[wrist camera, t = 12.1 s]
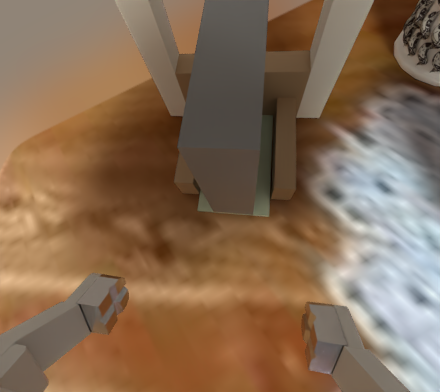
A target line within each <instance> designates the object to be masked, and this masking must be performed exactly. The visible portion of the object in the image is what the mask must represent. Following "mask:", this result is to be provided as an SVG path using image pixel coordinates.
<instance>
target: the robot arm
mask: <svg viewBox="0 0 440 392" xmlns="http://www.w3.org/2000/svg"><path fill="white" fill-rule="evenodd" d="M125 284H126V281H125V278H123V277H117V276H111V275H105V274H98V273H92V274H90V275H89V276H88V277H87V278H86V279H85V280H84V281H83V282H82V283H81V285H80V286H79V287H78V288H77V289H76V290H75V291H74V292H73V293H72V294H71V296H70V297H69V298H68V299H67V300H66V301H65V302H60V303H58V304H56V305H55V306H53V307H51V308H49V309H47V310H45V311H43V312H42V313H40V314H38V315H36V316H34V317H32V318H31V319H29V320H27V321H25V322H23V323H21V324H19V325H18V326H16V327H14V328H12V329H10V330H8V331H7V332H5V333H3V334H1V335H0V392H43V391H44V390H45V388H46V387H47V386H48V379H47V377H46V376H45V374H44V373H43V371H45V370H46V369H47V368H48V367H50V366H51V365H52V364H53V363H55V362H56V361H57V360H58V359H60V358H61V357H62V356H63V355H65V354H66V353H67V352H68V351H69V350H71V349H72V348H73V347H74V346H76V345H77V344H78V343H79V342H81V341H82V340H83V339H84V338H86V337H87V336H88V335H89V334H90V332H92V333H99V334H107V335H109V333H110V332H111V330H112V329H113V327H114V325H115V324H116V322H117V315H118V314H120V313H121V312H123V310H124V309H125V307H126V305H127V302H128V299H129V292H128V289H127V288H126V287H124V285H125ZM305 312H306V313H305V314H303V316H302V325H301V328H302V336H303V340H304V341H305V343H306V344H307V345H306V349H305V354H306V360H307V366H308V370H312V371H317V372H322V373H327V374H332V377H333V379H334V380H335V382H336V383H337V385H338V386H339V388H340V389H341V391H342V392H410V391H409V390H408V389H407V388H406V387H405V386H404V385H403V384H402V383H401V382H400V381H399V380H398V379H397V378H396V377H395V376H394V375H393V374H392V373H391V372H390V371H389V370H388V369H387V368H386V367H385V366H384V365H383V364H382V363H381V362H380V360H379V359H378V358H377V357H376V356H375V355H374V354H373V353H372V352H371V351H370V350H367V349H364V346H363V344H362V341H361V339H360V336H359V334H358V331H357V329H356V326H355V324H354V321H353V319H352V316H351V314H350V311H349V309H348V308H347V307H345V306H337V305H332V304H324V303H315V302H306V304H305Z"/></svg>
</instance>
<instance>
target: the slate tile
mask: <svg viewBox="0 0 440 392" xmlns="http://www.w3.org/2000/svg"><path fill="white" fill-rule="evenodd" d="M268 5H269V0H205V3H204V9H203V14H202V19H201V25H200V30H199V35H198V40H197V45H196V51H195V56H194V61H193V66H192V72H191V77H190V82H189V87H188V93H187V98H186V103H185V108H184V114H183V119H182V124H181V129H180V135H179V140H178V145H177V148H178V150H179V151H180V153H181V155H182V157H183V158H184V160H185V162H186V164H187V166H188V167H189V169H190V171H191V173H192V174H193V176H194V178H195V180H196V182H197V183H198V185H199V187H200V189H201V190H202V192H203V194H204V196H205V198H206V199H207V201H208V203H209V205H210V206H211V208H212V210H213V212H222V213H235V214H248V215H253V211H254V202H255V193H256V183H257V174H258V165H259V155H260V143H261V126H262V108H263V91H264V74H265V57H266V40H267V23H268Z"/></svg>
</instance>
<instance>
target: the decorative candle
mask: <svg viewBox="0 0 440 392" xmlns="http://www.w3.org/2000/svg"><path fill="white" fill-rule="evenodd" d="M394 57H395V58H396V60H397V62H398V64H399V65H400V67H401V68H402V69H403V70H404V71H405V72H407V73H408V74H409V75H411V76H412V77H413V78H415V79H417V80H419V81H422V82H425V83H427V84H430V85H433V86H439V87H440V0H420V1H419V2H418V3H417V5H416V8H415V11H414V12H413V13H412V15H411V17H410V18H409V19H408V20H407V21H406V23H405V24H404V27H403V30H402V32H401V33H400V35H399V36H398V38H397V39H396V41H395V42H394Z"/></svg>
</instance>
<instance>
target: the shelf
mask: <svg viewBox="0 0 440 392" xmlns="http://www.w3.org/2000/svg"><path fill="white" fill-rule="evenodd" d="M115 2H116V4H117V6H118V9H119V11H120V13H121V15H122V17H123V19H124V21H125V23H126V24H127V27H128V29H129V31H130V33H131V35H132V37H133V39H134V41H135V43H136V45H137V47H138V49H139V51H140V53H141V55H142V58H143V60H144V62H145V64H146V66H147V68H148V70H149V72H150V74H151V76H152V78H153V80H154V82H155V84H156V86H157V88H158V90H159V92H160V94H161V96H162V99H163V101H164V103H165V105H166V107H167V109H168V111H169V113H170V115H171V116H183V114H184V108H185V103H186V98H187V93H188V87H189V82H190V77H191V72H192V66H193V61H194V56H195V54H179V52H178V49H177V46H176V42H175V40H174V36H173V33H172V30H171V26H170V23H169V20H168V17H167V14H166V10H165V7H164V4H163V1H162V0H115ZM373 2H374V0H324V4H323V7H322V11H321V14H320V18H319V21H318V25H317V28H316V32H315V35H314V39H313V42H312V46H311V49H310V51H275V52H266V57H265V74H264V91H263V108H262V126H261V143H260V155H259V165H258V174H257V183H256V193H255V202H254V211H253V216H266V217H269V208H270V182H271V199H279V200H290V199H291V197H292V196H293V194H294V192H295V190H296V118H319V117H320V115H321V113H322V110H323V108H324V106H325V104H326V102H327V100H328V98H329V96H330V93H331V91H332V89H333V87H334V85H335V83H336V81H337V78H338V76H339V74H340V72H341V70H342V68H343V66H344V63H345V61H346V59H347V57H348V55H349V53H350V51H351V49H352V46H353V44H354V42H355V40H356V38H357V36H358V34H359V31H360V29H361V27H362V25H363V23H364V21H365V19H366V17H367V14H368V12H369V10H370V8H371V6H372V4H373ZM273 117H274V125H273ZM272 130H273V153H272ZM271 156H272V180H271ZM174 183H175V185H176V186H177V187H178V188H179V190H180V191H181V192H182V193H186V194H200V196H199V203H198V211H200V212H213V210H212V208H211V206H210V205H209V203H208V201H207V199H206V198H205V196H204V194H203V192H202V190H201V189H200V187H199V185H198V183H197V182H196V180H195V178H194V176H193V174H192V173H191V171H190V169H189V167H188V166H187V164H186V162H185V160H184V158H183V157H182V155H181V153H180V151H179V156H178V161H177V167H176V172H175V178H174ZM213 213H222V212H213ZM226 214H235V213H226ZM239 215H248V214H239Z"/></svg>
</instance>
